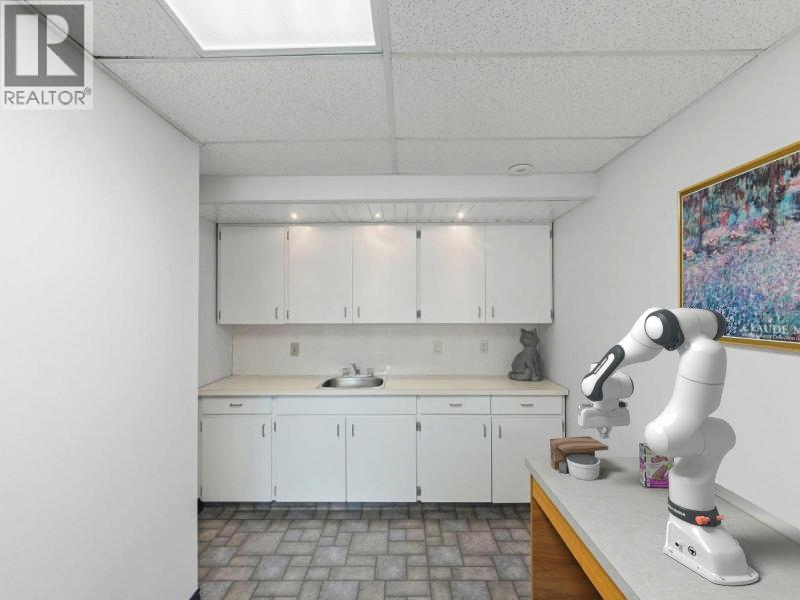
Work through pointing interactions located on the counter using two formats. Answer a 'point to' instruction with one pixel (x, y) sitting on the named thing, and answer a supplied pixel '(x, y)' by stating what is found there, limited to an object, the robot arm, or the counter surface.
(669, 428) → the robot arm
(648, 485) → the candy bar box
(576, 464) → the ramekin
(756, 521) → the counter surface
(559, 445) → the walnut shelf
